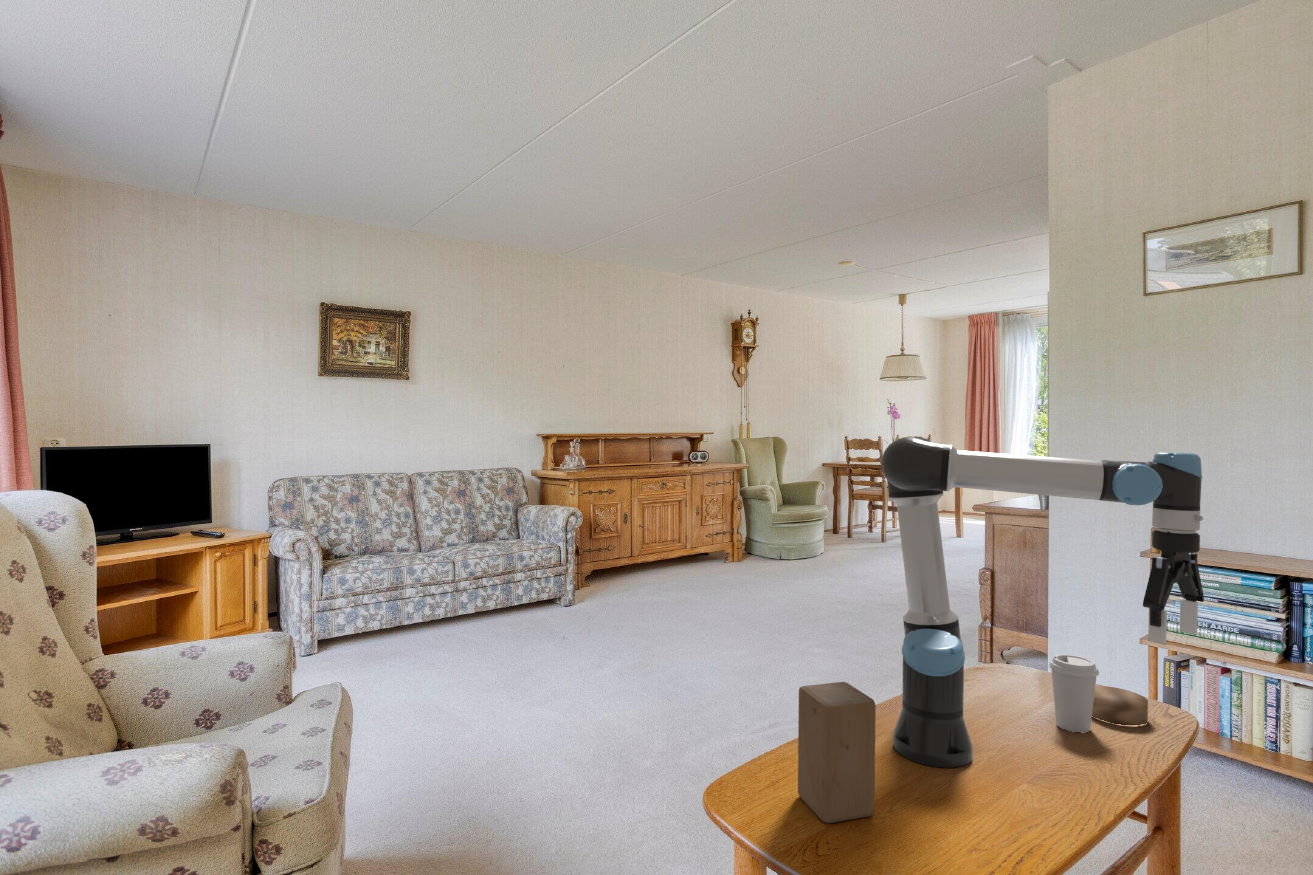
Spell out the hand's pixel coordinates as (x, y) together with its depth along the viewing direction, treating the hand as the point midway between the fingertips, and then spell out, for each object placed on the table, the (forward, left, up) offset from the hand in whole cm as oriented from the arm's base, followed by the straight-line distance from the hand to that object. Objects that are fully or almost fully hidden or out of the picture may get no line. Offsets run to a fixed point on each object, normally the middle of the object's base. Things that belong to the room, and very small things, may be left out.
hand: (1173, 637), depth 134 cm
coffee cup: (-16, +11, -25) cm, 32 cm away
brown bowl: (-7, +23, -25) cm, 35 cm away
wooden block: (-54, -48, -25) cm, 77 cm away
